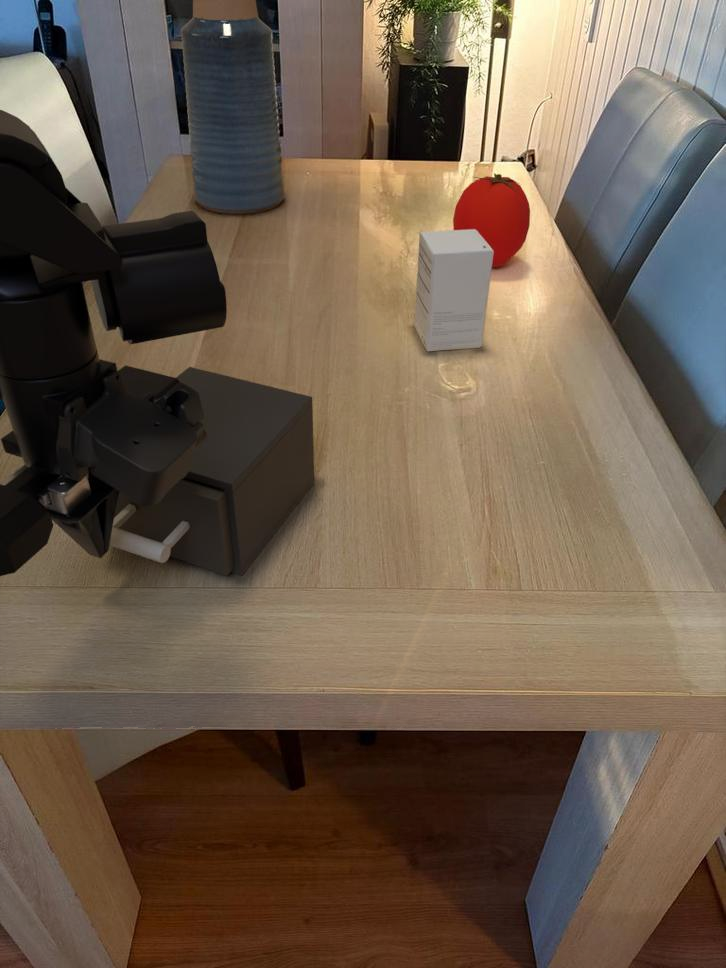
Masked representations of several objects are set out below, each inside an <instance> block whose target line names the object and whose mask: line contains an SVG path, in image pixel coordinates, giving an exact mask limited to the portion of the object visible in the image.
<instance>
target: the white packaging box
mask: <svg viewBox="0 0 726 968" xmlns="http://www.w3.org/2000/svg"><path fill="white" fill-rule="evenodd" d="M417 253H418V254H417V269H416V270H417V271H416V272H417V273H416V284H415V285H416V286H415V287H416V288H415V301H414V302H415V303H414V315H413V326H414V328H415V330H416V333H417V334H418V337H419V339H420V341H421V343H422V346H423V347H424V348H425V350H426V352H438V351H450V350H451V351H452V350H465V349H466V350H467V349H479V348H482V347H483V339H484V331H485V325H486V316H487V309H488V308H487V307H488V301H489V293H490V284H491V277H492V269H493V267H492V262H493V255H494V251H493V250H492V248H491V247H490V246H489V244H488V243H487V242H486V241H485V240H484V239H483V237H482V236H481V235H480V234H479V233H478V231H477V230H476V229H469V230H454V229H453V230H449V229H448V230H431V231H429V230H428V231H419V238H418V252H417Z"/></svg>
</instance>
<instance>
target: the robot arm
mask: <svg viewBox="0 0 726 968" xmlns="http://www.w3.org/2000/svg"><path fill="white" fill-rule="evenodd" d="M214 256H215V255H214V253H213V250H212V248H211V246H210V243H209V241H208V233H207V224H206V222H205V221H204V220H203V219H202V218H201V217H200V216H199V215H198V214H197V213H196V212H195V211H193V210H188V211H187V210H186V211H180V212H174V213H170V214H168V215H165V216H163V217H159V218H154V219H153V218H152V219H147V220H138V221H131V222H130V221H129V222H124V223H123V222H122V223H116V224H115V223H114V224H107V225H102V224H101V222H100V221H99V219H98V217H97V215H96V213H94V211H93V210H92V208H91V206H90V205H89V203H88V202H82V201H81V200H80V199H79V198H78V197H76V196H75V195H74V194H73V193H72V192H71V191H70V190H69V189H68V188H67V187H66V184H65V180H64V178H63V175H62V173H61V172H60V169H59V168H58V166H57V165H56V163H55V161H54V159H53V158H52V156H51V155H50V153H49V151H48V150H47V148H46V147H45V145H44V144H43V142H42V141H41V140H40V138H39V136H38V135H37V133H36V132H35V131H34V130H33V129H32V128H31V126H29V125H28V124H27V123H26V122H24V121H23V120H22V119H21V118H19V117H17V116H16V115H14V114H12V113H9V112H7V111H5V110H4V109H3V110H2V109H0V400H2V401H3V404H4V407H5V410H6V413H7V417H8V420H9V422H10V425H11V429H12V430H11V431H10V432H8V433H7V434H6V435H4V436H2V437H1V438H0V441H1V444H2V447H3V450H4V453H6V454H9V455H11V456H15V457H19V458H22V461H23V463H24V464H23V465H22V466H20V467H18V468H17V469H16V470H14V472H12V473H11V474H10V475H8V476H7V477H6V478H4V479H3V480H2V481H0V577H2V576H7V575H10V574H15V573H17V572H18V570H20V569H21V568H22V567H23V566H24V565H25V564H27V562H29V561H30V560H31V559H32V558H33V557H35V555H36V554H38V553H39V552H40V551H41V550H42V549H43V548H44V547H45V546H47V544H48V543H49V540H50V538H51V534H52V531H53V527H54V524H56V525H57V526H58V527H59V529H61V530H62V531H63V532H64V533H66V534H67V535H68V537H70V538H71V539H72V540H73V541H74V542H75V543H76V544H77V545H78V546H79V547H81V548H82V550H84V551H85V552H86V553H87V554H88V555H89V556H92V557H94V558H98V559H102V558H103V557H104V556H105V555H106V554H107V553H108V552H109V551H110V550H109V549H110V545H109V544H110V539H111V533H112V527H113V522H114V516H115V510H116V505H117V500H118V496H119V492H122V493H123V494H125V495H126V496H127V497H128V498H129V500H131V501H132V502H134V503H136V504H138V505H141V506H153V505H156V504H157V503H159V502H160V501H161V500H162V499H163V498H164V496H165V494H166V493H167V492H168V491H169V490H170V489H171V488H172V487H173V486H174V485H175V484H176V483H177V482H178V481H179V480H180V479H183V478H184V477H185V476H186V475H187V473H188V471H189V467H190V463H191V459H192V455H193V452H194V450H195V449H196V448H197V447H198V446H199V445H200V444H201V443H203V441H204V440H206V439H207V433H206V432H205V430H204V429H203V426H204V424H203V421H204V413H203V409H202V405H201V401H200V397H199V393H198V392H197V391H195V390H194V389H192V388H190V387H189V386H187V385H185V384H184V383H181V382H180V381H179V380H178V379H177V378H176V377H173V376H170V375H166V374H162V373H158V372H154V371H151V370H146V369H142V368H138V367H134V366H130V365H127V364H125V365H124V366H122V367H121V368H120V369H118V367H117V363H116V362H113V361H109V360H105V359H100V357H99V351H98V348H97V343H96V338H95V334H94V330H93V325H92V321H91V317H90V316H91V315H90V313H89V308H88V303H87V299H86V294H85V289H84V284H83V283H84V282H90V281H91V286H92V291H93V295H94V298H95V302H96V303H95V304H96V307H97V310H98V313H99V317H100V319H101V322H102V325H103V327H104V330H105V331H106V332H110V331H115V330H117V328H118V330H119V334H120V337H121V340H122V342H127V343H128V344H129V345H136V344H140V343H146V342H151V341H157V340H163V339H167V338H172V337H178V336H183V335H188V334H194V333H199V332H204V331H208V330H214V329H219V328H224V326H225V325H226V322H227V315H228V313H227V312H228V308H227V295H226V287H225V285H224V283H222V281H221V279H220V275H219V270H218V267H217V263H216V259H215V257H214Z"/></svg>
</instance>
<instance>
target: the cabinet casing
mask: <svg viewBox="0 0 726 968" xmlns="http://www.w3.org/2000/svg"><path fill="white" fill-rule="evenodd" d="M175 378H177V379H178V380H179V381H180V382H181V383H184V384H185V385H187V386H189V387H190V388H192V389H194V390H195V391H197V392H198V393H199V397H200V401H201V405H202V409H203V413H204V421H203V424H204V426H203V429H204V430H205V432H206V433H207V439H206V440H204V441H203V443H201V444H200V445H199V446H198V447H197V448H196V449H195V450H194V452H193V455H192V459H191V463H190V467H189V471H188V473H187V475H186V476H185V477H184V478H187V479H190V480H193V481H197V482H200V483H203V484H207V485H210V486H214V487H217V488H220V489H224V492H226V498H227V507H228V515H229V524H230V532H231V540H232V549H233V557H234V568H233V569H232V570H231V571H230V573H232V574H234V575H237V576H240V577H242V576H244V574H245V573H246V572H247V571H248V569H250V567H251V565H252V564H253V563H254V561H255V560H256V559H257V558H258V556H259V555H260V553H262V551H263V550H264V549H265V547H266V546H267V545H268V543H270V541H271V540H272V538H273V537H274V536H275V535H276V533H277V532H278V530H280V528H281V527H282V526H283V524H284V523H285V521H286V520H287V519H288V518H289V516H290V515H291V514H292V513H293V511H294V510H295V509H296V508H297V506H298V505H299V504H300V502H301V501H302V500H303V499H304V497H305V496H306V495H307V493H308V492H309V491H310V489H311V488H312V487H313V486H314V484H315V456H314V454H315V453H314V451H315V450H314V415H313V414H314V412H313V411H314V410H313V409H314V408H313V407H314V406H313V396H310V395H306V394H302V393H298V392H294V391H290V390H286V389H282V388H278V387H274V386H270V385H265V384H261V383H257V382H253V381H249V380H245V379H240V378H238V377H233V376H230V375H224V374H221V373H217V372H212V371H209V370H204V369H201V368H195V367H193V366H189V367H187V368H186V369H185V370H183V371H182V372H181V373H180V374H178V375H177V376H176V377H175Z"/></svg>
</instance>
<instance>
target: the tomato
mask: <svg viewBox="0 0 726 968" xmlns="http://www.w3.org/2000/svg"><path fill="white" fill-rule="evenodd" d="M493 175H494V176H484V177H476V176H473V178H475V179H476V180H474V181H473V182H471V183H470V184H469V185H468V186H467V187H465V189H463V191H462V193H461V195H460V197H459V199H458V201H457V203H456V205H455V208H454V211H453V218H452V225H453V226H452V227H453V228H452V229H453V230H469V229H476V230H477V231H478V233H479V234H480V235H481V236H482V237H483V239H484V240H485V241H486V242H487V243H488V244H489V246H490V247H491V248H492V250H493V251H494V255H493V262H492V268H497V267H501V266H504V265H505V264H507V263H508V262H509V261H510V260H511V259H512V258H513V257H515V255H516V254H517V253H518V252H520V250H521V249H522V248H523V246H524V244H525V243H526V240H527V237H528V233H529V229H530V223H531V222H530V221H531V208H530V207H531V206H530V202H529V200H528V197H527V195H526V193H525V191H524V189H523V187H522V186H521V184H520V183H519V182H517V181H516V180H515V179H512V178H511V177H509V176H502V174H501V173H497V174H496V173H495V172H494V173H493Z"/></svg>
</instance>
